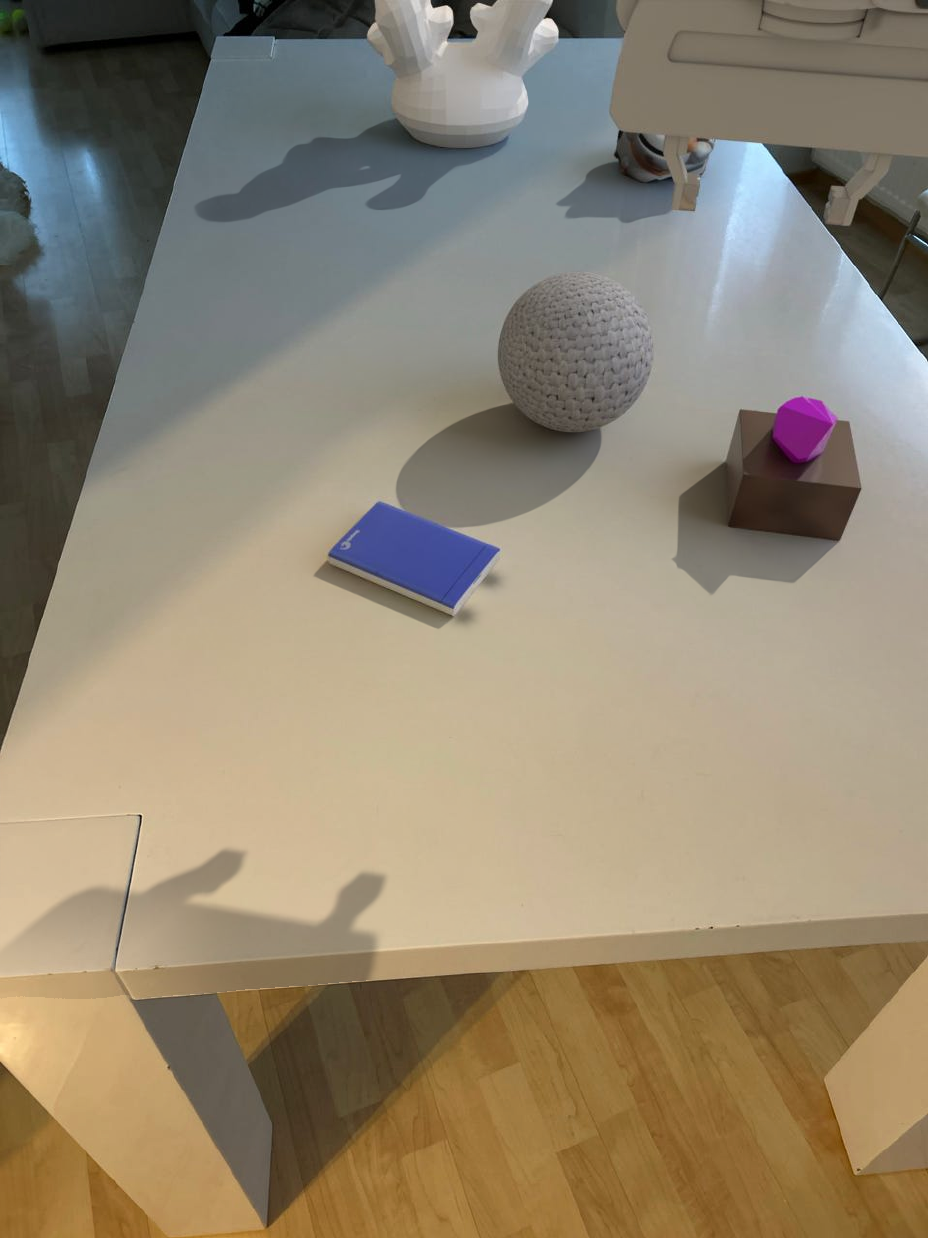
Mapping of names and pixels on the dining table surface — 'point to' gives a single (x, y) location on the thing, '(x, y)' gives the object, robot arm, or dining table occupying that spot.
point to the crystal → (803, 428)
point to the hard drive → (415, 557)
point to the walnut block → (789, 481)
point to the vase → (461, 67)
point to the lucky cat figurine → (657, 155)
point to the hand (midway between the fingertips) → (758, 214)
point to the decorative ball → (575, 351)
